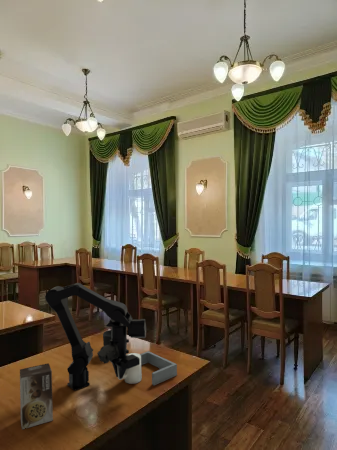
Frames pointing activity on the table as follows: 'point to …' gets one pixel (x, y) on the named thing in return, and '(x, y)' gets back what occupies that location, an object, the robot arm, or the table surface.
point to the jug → (133, 372)
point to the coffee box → (36, 395)
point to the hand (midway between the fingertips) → (119, 377)
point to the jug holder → (166, 367)
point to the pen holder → (107, 337)
